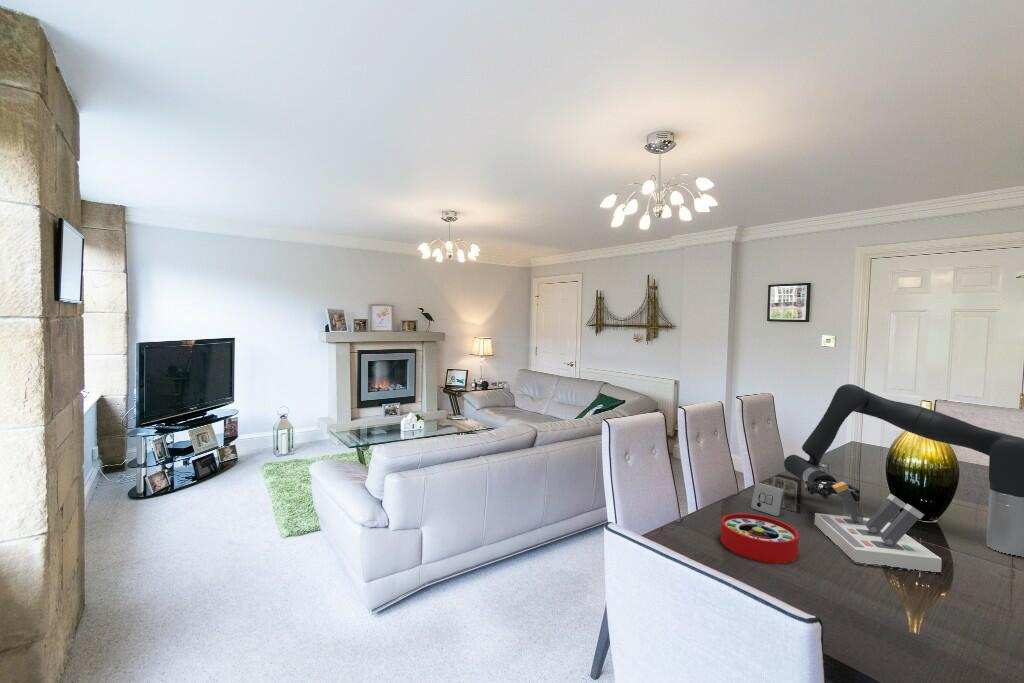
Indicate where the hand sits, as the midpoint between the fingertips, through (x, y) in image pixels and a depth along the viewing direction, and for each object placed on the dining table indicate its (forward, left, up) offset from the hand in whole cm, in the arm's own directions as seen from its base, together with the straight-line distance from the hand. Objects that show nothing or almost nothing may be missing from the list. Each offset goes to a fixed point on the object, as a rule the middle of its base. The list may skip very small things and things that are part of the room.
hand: (842, 497), depth 145 cm
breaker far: (-10, +11, -7) cm, 16 cm away
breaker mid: (-7, +4, -7) cm, 10 cm away
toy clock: (+21, +23, -13) cm, 33 cm away
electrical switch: (+21, -10, -12) cm, 26 cm away
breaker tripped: (-4, -4, -7) cm, 9 cm away
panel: (-7, +4, -12) cm, 15 cm away
